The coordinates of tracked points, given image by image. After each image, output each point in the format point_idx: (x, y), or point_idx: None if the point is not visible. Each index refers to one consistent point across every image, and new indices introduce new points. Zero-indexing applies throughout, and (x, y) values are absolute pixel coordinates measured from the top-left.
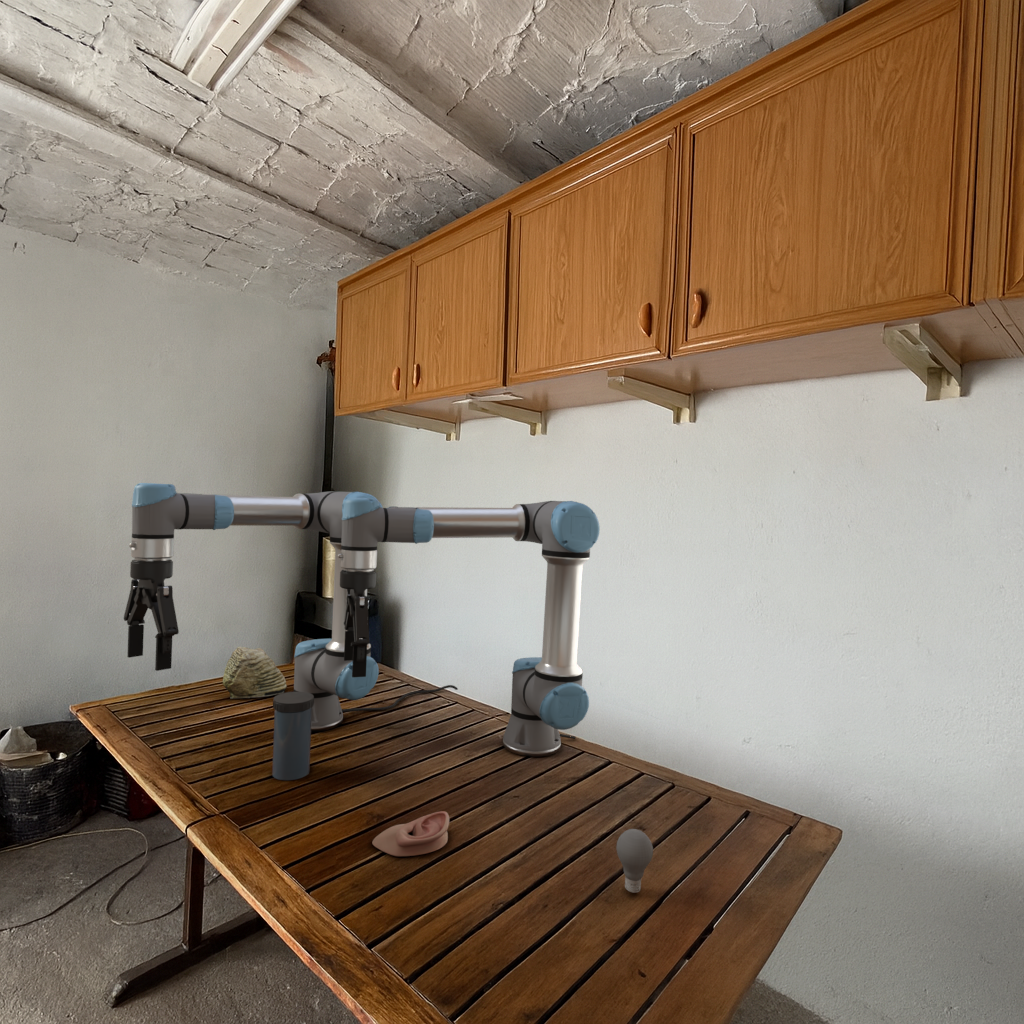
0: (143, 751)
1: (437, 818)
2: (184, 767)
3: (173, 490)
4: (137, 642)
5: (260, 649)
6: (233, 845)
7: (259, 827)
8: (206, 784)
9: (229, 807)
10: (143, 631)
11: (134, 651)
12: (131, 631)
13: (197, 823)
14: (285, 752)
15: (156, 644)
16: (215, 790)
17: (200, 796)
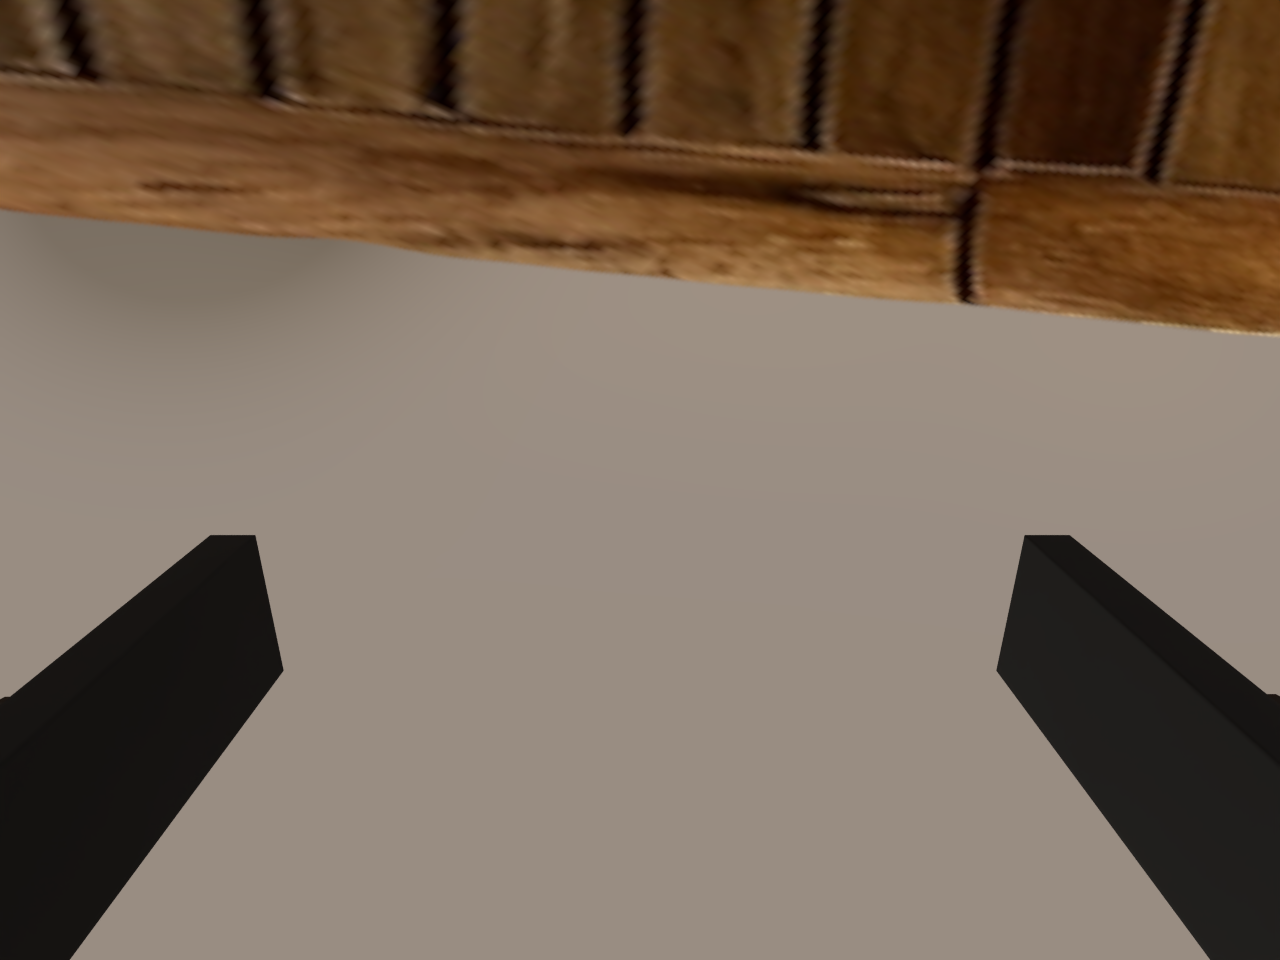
0: (121, 127)
1: None
2: (442, 64)
3: None
4: (164, 704)
5: None
6: (1218, 255)
7: (1206, 116)
8: (694, 79)
9: (968, 117)
10: (15, 753)
11: (240, 658)
12: (55, 940)
13: (977, 271)
14: None
15: (1204, 931)
16: (780, 79)
17: (784, 157)
